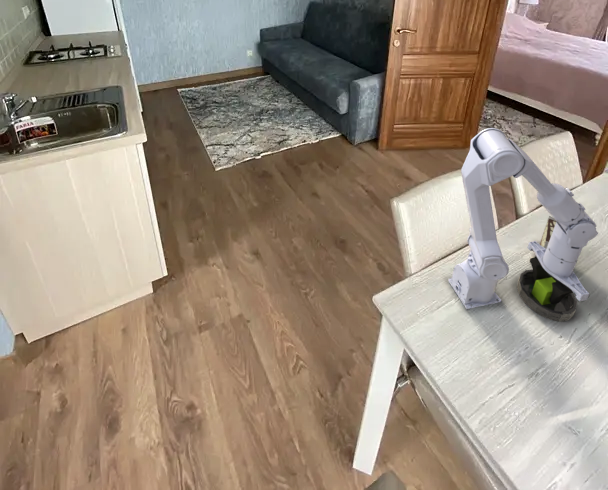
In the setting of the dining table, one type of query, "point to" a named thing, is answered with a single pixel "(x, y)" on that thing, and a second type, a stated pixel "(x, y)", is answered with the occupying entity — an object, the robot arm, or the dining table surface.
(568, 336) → the dining table surface
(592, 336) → the dining table surface
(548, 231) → the food container
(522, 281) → the bowl
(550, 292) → the green block
